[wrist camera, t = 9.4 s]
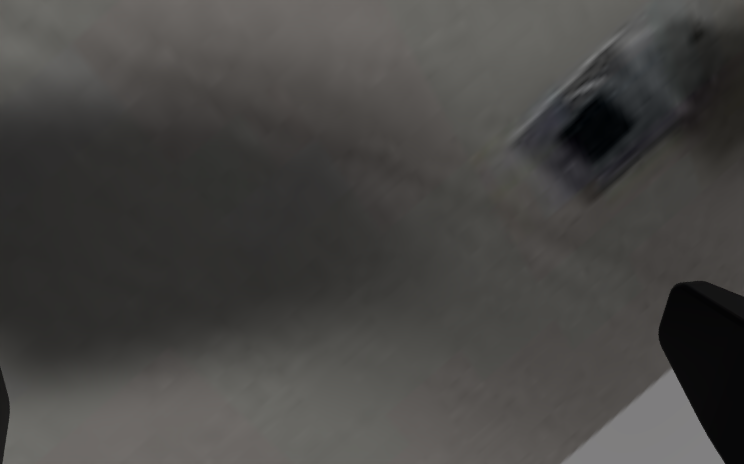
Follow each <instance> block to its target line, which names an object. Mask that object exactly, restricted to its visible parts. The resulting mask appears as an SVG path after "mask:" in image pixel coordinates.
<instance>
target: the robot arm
mask: <svg viewBox="0 0 744 464" xmlns="http://www.w3.org/2000/svg"><path fill="white" fill-rule="evenodd" d="M658 335H659V341H660V345H661V347H662V349H663V351H664V353H665V355H666V357H667V359H668V361H669V363H670V365H671V367H672V369H673V370H674V372H675V374H676V376H677V378H678V380H679V382H680V384H681V386H682V388H683V390H684V392H685V394H686V396H687V398H688V399H689V401H690V404H691V406H692V407H693V409H694V411H695V413H696V415H697V417H698V419H699V421H700V423H701V425H702V426H703V428H704V430H705V432H706V433H707V436H708V437H709V439H710V440H711V442H712V444H713V445H714V447H715V449H716V450H717V452H718V453H719V455H720V456H721V458H722V460H723V461H724V463H725V464H744V297H743V296H740V295H738V294H736V293H733V292H731V291H728V290H726V289H723V288H721V287H718V286H716V285H713V284H711V283H708V282H705V281H693V282H682V283H678V284H676V285H675V286H674V287H673V288H672V289H671V291H670V294H669V297H668V300H667V303H666V307H665V310H664V313H663V316H662V320H661V323H660V326H659V334H658ZM9 414H10V405H9V397H8V393H7V390H6V386H5V382H4V379H3V375H2V371H1V368H0V464H2V462H3V456H4V449H5V442H6V436H7V429H8V423H9Z"/></svg>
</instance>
